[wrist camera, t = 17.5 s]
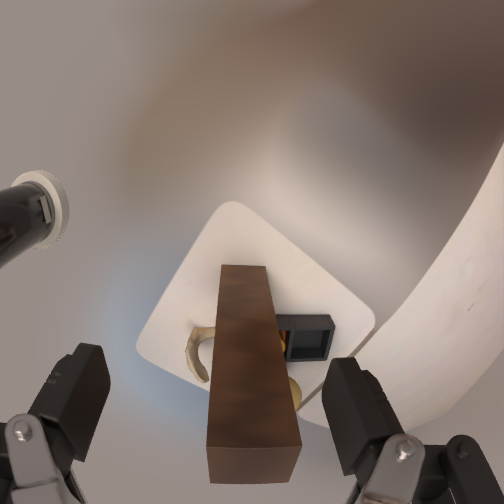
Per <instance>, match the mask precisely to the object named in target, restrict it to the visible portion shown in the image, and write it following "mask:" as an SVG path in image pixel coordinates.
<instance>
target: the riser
mask: <svg viewBox="0 0 504 504" xmlns="http://www.w3.org/2000/svg"><path fill="white" fill-rule="evenodd" d="M301 448H302V441H301V437H300V432H299V427H298V422H297V417H296V412H295V407H294V402H293V397H292V392H291V387H290V382H289V378H288V373H287V368H286V363H285V358H284V354H283V349H282V344H281V339H280V334H279V330H278V325H277V320H276V315H275V311H274V306H273V301H272V297H271V292H270V287H269V283H268V278H267V273H266V269H265V266H245V265H222V266H221V276H220V286H219V295H218V305H217V316H216V326H215V337H214V348H213V360H212V372H211V385H210V399H209V412H208V426H207V441H206V450H207V460H208V468H209V477H210V483H218V484H263V483H264V484H266V483H284V482H289V479H290V477H291V474H292V472H293V469H294V467H295V464H296V461H297V459H298V456H299V453H300V451H301Z"/></svg>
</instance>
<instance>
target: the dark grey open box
mask: <svg viewBox="0 0 504 504" xmlns="http://www.w3.org/2000/svg"><path fill="white" fill-rule="evenodd" d="M276 320H277V325H278V330H279V331H282V334H283V338H284V342H285V351H284V352H283V354H284V358H285V361H286V362H304V361H326V360H327V358H328V354H329V350H330V346H331V343H332V339H333V335H334V330H335V325H334V322H333V320H332V318H331V316H330V315H276Z"/></svg>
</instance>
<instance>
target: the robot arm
mask: <svg viewBox="0 0 504 504" xmlns="http://www.w3.org/2000/svg"><path fill="white" fill-rule="evenodd" d="M54 222H55V209H54V204H53V201H52V198H51V196H50V194H49V193H48V191H47V190H46V189H45V188H44V187H43V186H42V185H41V184H39V183H38V182H35V181H26V182H23V183H21V184H19V185H16V186H13V187H10V188H7V189H4V190H1V191H0V269H1V268H2V267H4V266H5V265H7V264H8V263H9V262H11V261H12V260H14V259H15V258H16V257H18V256H19V255H21V254H22V253H23V252H25V251H26V250H28V249H29V248H31V247H33V246H34V245H36V244H37V243H39V242H41V241H43V240H44V239H46V238H47V237H48V236H49V235H50V233H51V232H52V229H53V227H54ZM110 384H111V383H110V375H109V372H108V368H107V364H106V361H105V357H104V353H103V350H102V347H101V346H99V345H93V344H86V343H80V344H79V345H78V346H77V348H76V350H75V351H74V353H73V354H72V355H69V354H67V355H66V356H65V357H63V358H62V359H61V360H59V361H58V362H57V364H56V365H55V367H54V368H53V370H52V372H51V374H50V375H49V377H48V378H47V380H46V383H44V385H43V387H42V388H41V390H40V392H39V393H38V395H37V397H36V399H35V400H34V402H33V404H32V406H31V408H30V410H29V411H28V413H27V414H19V415H16V416H14V417H13V418H11V419H10V420H9V422H8V423H0V504H88V502H87V500H86V498H85V496H84V494H83V492H82V490H81V488H80V486H79V483H78V481H77V479H76V477H75V474H74V472H73V470H72V468H71V464H72V461H73V459H75V460H78V461H82V462H84V461H85V458H86V455H87V452H88V449H89V446H90V443H91V440H92V437H93V435H94V432H95V429H96V426H97V424H98V421H99V418H100V415H101V413H102V410H103V407H104V405H105V402H106V399H107V397H108V394H109V391H110ZM322 403H323V407H324V410H325V413H326V417H327V420H328V423H329V427H330V430H331V433H332V437H333V440H334V443H335V447H336V450H337V453H338V457H339V460H340V464H341V467H342V470H343V474H344V476H347V475H352V474H355V475H356V478H357V481H356V483H355V485H354V486H353V488H352V490H351V492H350V494H349V496H348V498H347V499H346V501H345V503H344V504H411V502H412V504H455V502H456V504H504V495H503V493H502V491H501V489H500V487H499V484H498V483H497V480H496V478H495V476H494V474H493V472H492V470H491V468H490V466H489V464H488V462H487V460H486V458H485V456H484V454H483V452H482V450H481V449H480V446H479V445H478V443H477V442H476V441H475V440H474V439H473V438H471V437H469V436H467V435H456V436H454V437H453V438H451V439H450V441H449V442H448V443H447V444H446V445H423V444H422V442H421V441H420V440H419V439H417V438H416V437H414V436H412V435H409V434H405V432H404V431H403V429H402V427H401V425H400V423H399V421H398V419H397V417H396V415H395V413H394V411H393V409H392V407H391V405H390V403H389V401H387V397H386V395H385V393H384V392H383V389H382V387H381V385H380V383H379V382H378V380H377V378H376V377H374V376H373V375H372V374H371V373H370V372H369V371H368V370H361V369H360V367H359V365H358V363H357V361H356V359H355V358H354V357H346V358H333V359H332V360H331V363H330V366H329V369H328V372H327V375H326V379H325V382H324V385H323V388H322ZM450 489H451V491H450ZM451 492H452V494H453V497H454V499H455V502H454V499H453V497H452V494H451Z"/></svg>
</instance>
